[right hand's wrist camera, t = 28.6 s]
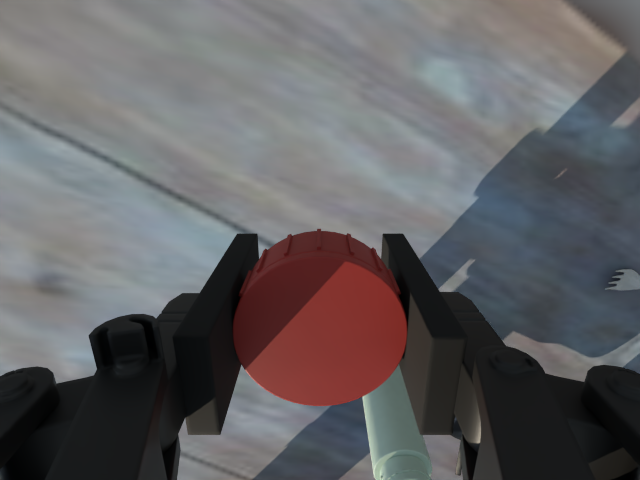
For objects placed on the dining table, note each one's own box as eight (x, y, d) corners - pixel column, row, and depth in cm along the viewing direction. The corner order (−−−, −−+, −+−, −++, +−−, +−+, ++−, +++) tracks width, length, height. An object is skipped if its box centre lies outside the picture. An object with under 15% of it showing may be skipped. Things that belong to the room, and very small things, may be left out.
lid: (404, 349, 13) (420, 394, 11) (265, 372, 13) (255, 419, 11) (385, 214, 11) (399, 238, 9) (225, 244, 11) (206, 274, 9)
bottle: (347, 339, 43) (366, 508, 25) (362, 310, 42) (394, 467, 24) (379, 350, 44) (421, 524, 26) (395, 322, 43) (451, 484, 25)
